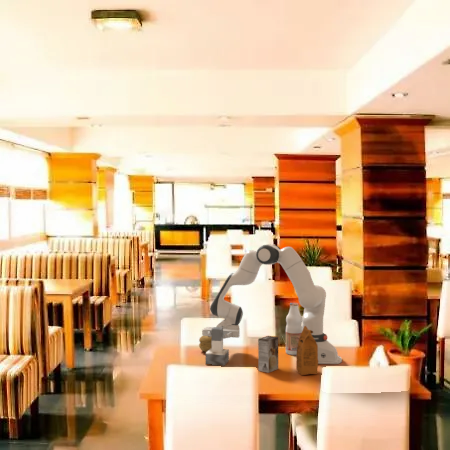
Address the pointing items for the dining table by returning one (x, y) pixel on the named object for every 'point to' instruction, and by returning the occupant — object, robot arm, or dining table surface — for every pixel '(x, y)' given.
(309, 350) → the coffee package
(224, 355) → the stand
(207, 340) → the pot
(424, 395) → the dining table surface
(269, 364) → the coffee box
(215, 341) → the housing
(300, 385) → the dining table surface
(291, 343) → the fruit juice
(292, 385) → the dining table surface
